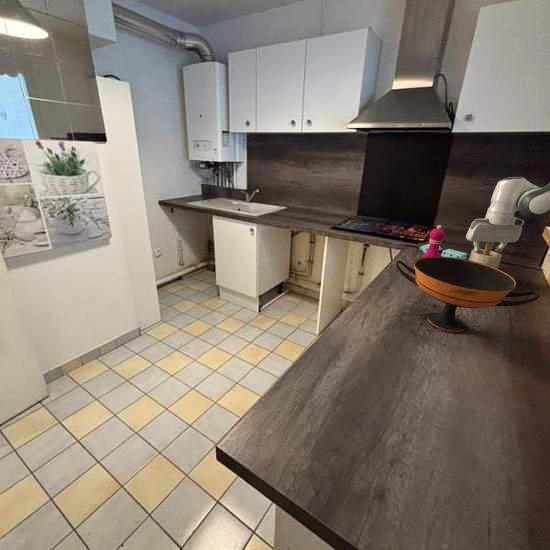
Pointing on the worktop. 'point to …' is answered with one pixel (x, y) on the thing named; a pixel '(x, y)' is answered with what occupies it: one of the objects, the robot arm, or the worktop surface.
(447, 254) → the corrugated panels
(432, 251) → the pepper mill
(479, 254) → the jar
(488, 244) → the brush
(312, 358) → the worktop surface
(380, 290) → the worktop surface
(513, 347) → the worktop surface
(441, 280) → the cup
